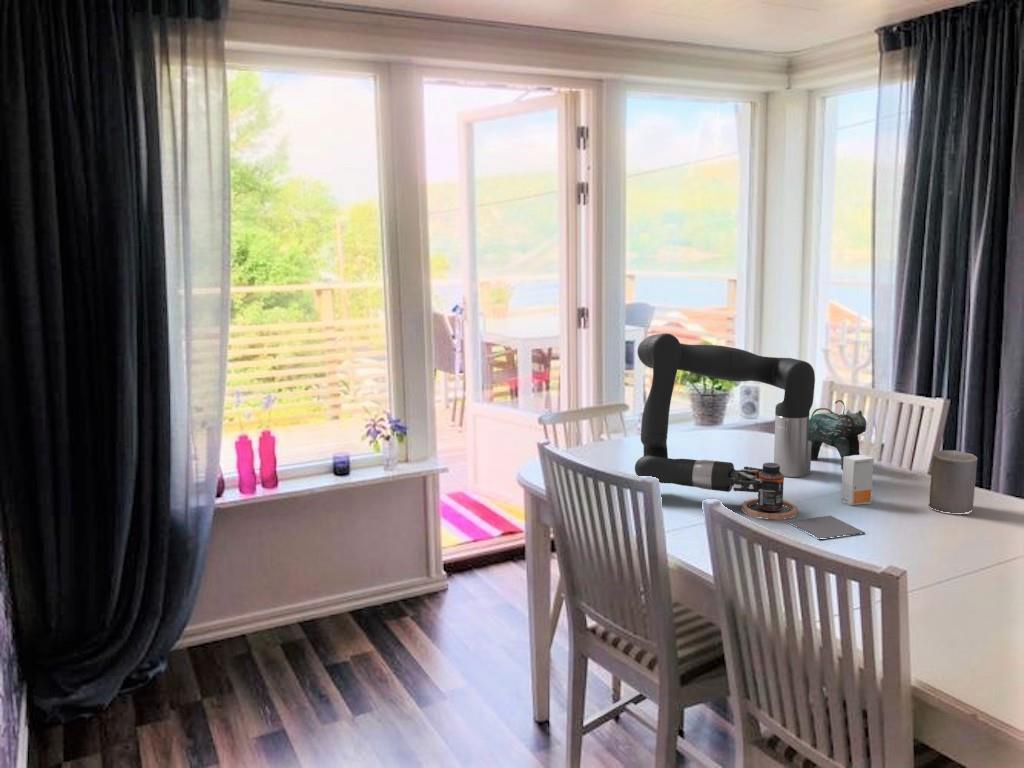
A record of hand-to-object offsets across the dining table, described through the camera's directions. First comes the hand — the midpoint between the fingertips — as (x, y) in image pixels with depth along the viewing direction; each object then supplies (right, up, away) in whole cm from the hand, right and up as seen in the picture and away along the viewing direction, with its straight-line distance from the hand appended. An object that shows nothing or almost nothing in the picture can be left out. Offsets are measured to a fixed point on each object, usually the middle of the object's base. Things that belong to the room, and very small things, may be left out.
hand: (781, 482), depth 196 cm
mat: (+7, -9, -11) cm, 16 cm away
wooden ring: (-2, -7, +2) cm, 8 cm away
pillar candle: (+42, -7, 0) cm, 43 cm away
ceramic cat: (+29, 0, +40) cm, 49 cm away
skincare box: (+22, -6, +7) cm, 23 cm away
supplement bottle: (-2, -7, +2) cm, 7 cm away
